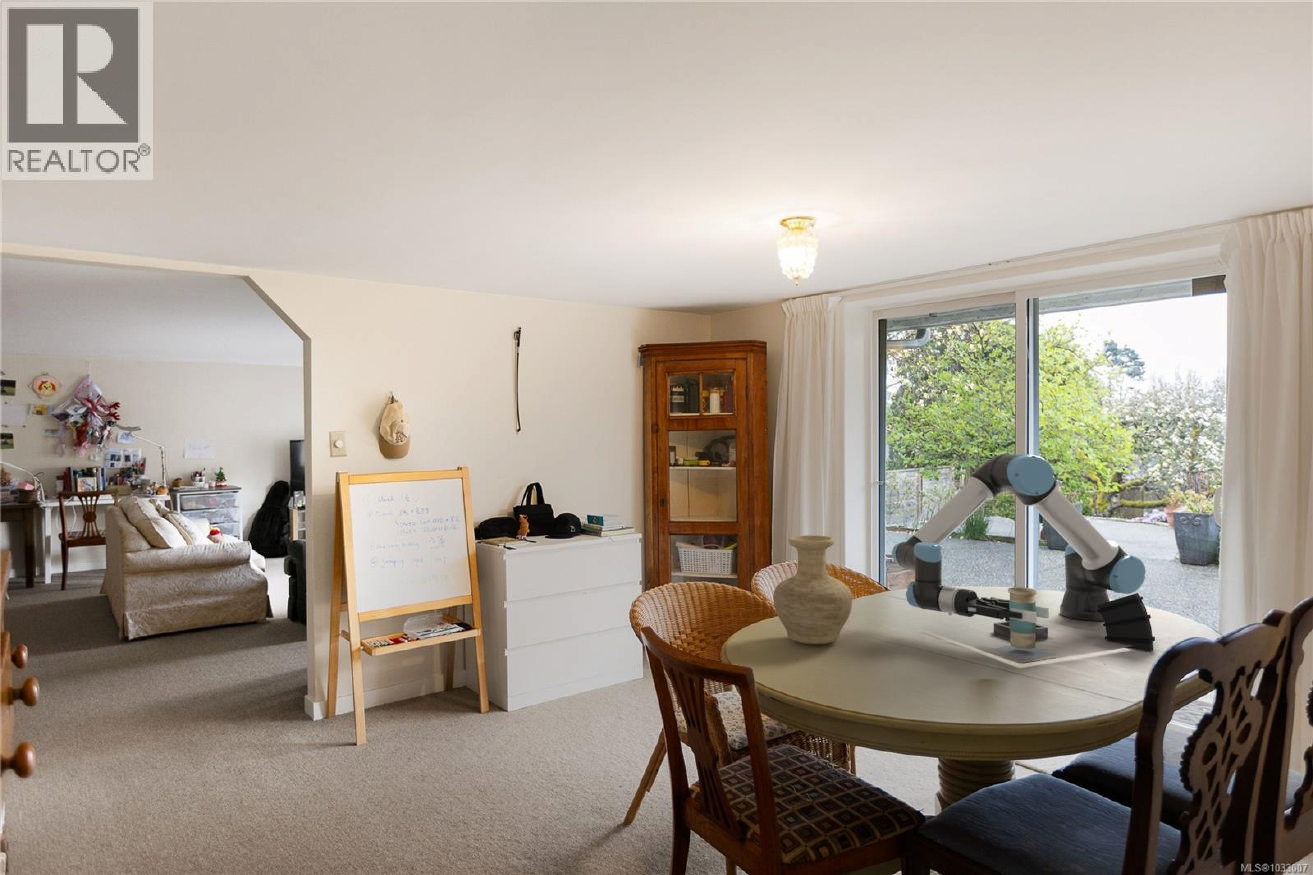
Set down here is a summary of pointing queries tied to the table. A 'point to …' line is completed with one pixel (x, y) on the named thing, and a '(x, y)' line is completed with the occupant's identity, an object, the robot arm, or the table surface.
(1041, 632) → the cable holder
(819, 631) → the vase
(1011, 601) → the disc
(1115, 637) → the magazine
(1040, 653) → the rubber mat
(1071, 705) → the table surface
